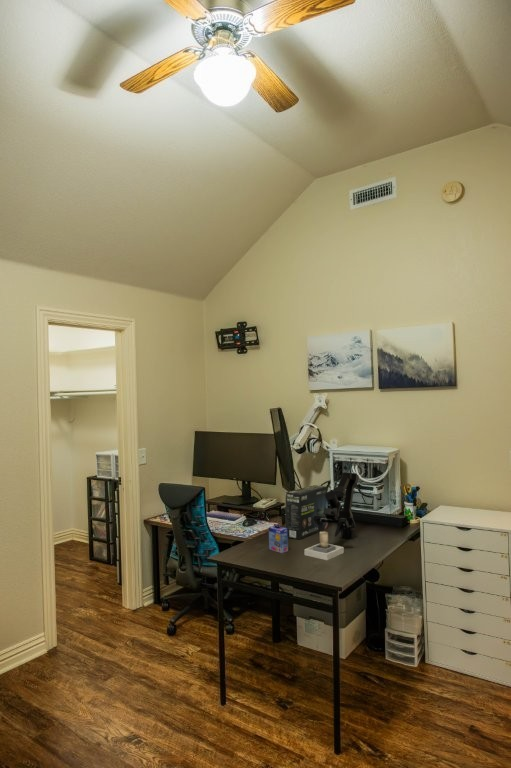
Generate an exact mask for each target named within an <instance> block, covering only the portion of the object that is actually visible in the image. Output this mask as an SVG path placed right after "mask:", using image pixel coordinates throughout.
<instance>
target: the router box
mask: <svg viewBox="0 0 511 768" xmlns="http://www.w3.org/2000/svg"><path fill="white" fill-rule="evenodd" d="M327 492H328V486H325V485H316V484H314V485H313V484H312V485H309V486H307V487H302V488H299V489H294V490H291V491H287V492H285V493H284V496H285V528H287V531H288V539H296V540H302V539H305V538H307V537H309V536H312V535H314V534H317V533H318V525H317V524H316V523H315V521H314V520H313V518H314V516H315V515H319V516H322V518H323V519H326V517H325V514H323V512H324V508H329V507H328V505H329V504H328V502H327V500H326V497H325V494H326V493H327ZM328 527H329V523H326V522H324V523H323V527H322V530H321V531H324V530H326V529H328Z"/></svg>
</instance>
